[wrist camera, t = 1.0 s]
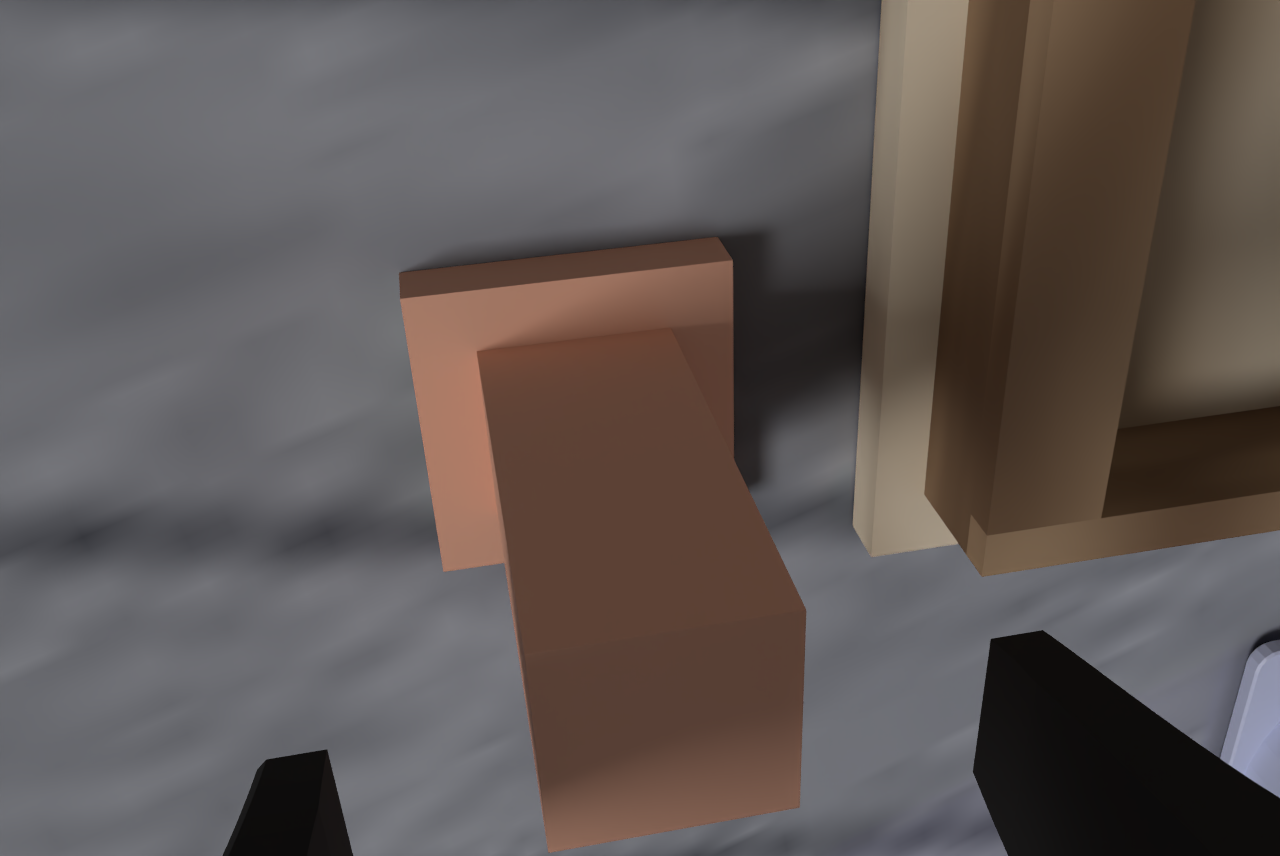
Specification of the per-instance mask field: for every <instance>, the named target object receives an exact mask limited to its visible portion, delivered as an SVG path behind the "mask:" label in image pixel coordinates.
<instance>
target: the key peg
mask: <svg viewBox="0 0 1280 856" xmlns="http://www.w3.org/2000/svg"><path fill="white" fill-rule="evenodd" d="M399 281H400V300H401V307H402V313H403V319H404V326H405V332H406V338H407V344H408V351H409V357H410V363H411V370H412V376H413V382H414V388H415V395H416V401H417V407H418V414H419V420H420V426H421V432H422V439H423V445H424V451H425V458H426V464H427V470H428V477H429V483H430V489H431V495H432V502H433V508H434V514H435V521H436V527H437V533H438V539H439V546H440V552H441V558H442V565H443V571H444V572H446V571H453V570H459V569H466V568H473V567H480V566H486V565H493V564H500V563H505V569H506V576H507V582H508V589H509V596H510V602H511V609H512V615H513V622H514V629H515V635H516V642H517V648H518V655H519V661H520V668H521V675H522V681H523V688H524V694H525V701H526V708H527V714H528V721H529V727H530V734H531V741H532V747H533V754H534V760H535V767H536V773H537V780H538V787H539V793H540V800H541V806H542V813H543V820H544V826H545V833H546V839H547V846H548V853H550V852H556V851H561V850H567V849H573V848H578V847H584V846H589V845H595V844H600V843H606V842H611V841H617V840H622V839H628V838H633V837H639V836H645V835H650V834H656V833H661V832H667V831H672V830H678V829H683V828H689V827H694V826H700V825H705V824H711V823H716V822H722V821H728V820H733V819H739V818H744V817H750V816H755V815H761V814H766V813H772V812H777V811H783V810H788V809H794V808H799V807H800V781H801V751H802V721H803V691H804V661H805V631H806V608H805V606H804V604H803V602H802V600H801V598H800V596H799V594H798V592H797V590H796V588H795V585H794V583H793V581H792V579H791V577H790V575H789V573H788V571H787V569H786V567H785V565H784V563H783V561H782V558H781V556H780V554H779V552H778V550H777V548H776V546H775V544H774V542H773V540H772V538H771V536H770V534H769V531H768V529H767V527H766V525H765V523H764V521H763V519H762V517H761V515H760V513H759V511H758V509H757V506H756V504H755V502H754V500H753V498H752V496H751V494H750V492H749V490H748V488H747V486H746V484H745V482H744V479H743V477H742V475H741V473H740V471H739V469H738V467H737V465H736V463H735V461H734V371H733V260H732V258H731V257H730V255H729V253H728V252H727V250H726V249H725V247H724V246H723V244H722V243H721V241H720V240H719V238H718V237H711V238H703V239H694V240H685V241H676V242H667V243H658V244H649V245H641V246H632V247H623V248H614V249H605V250H596V251H587V252H579V253H570V254H561V255H552V256H543V257H534V258H525V259H517V260H508V261H499V262H490V263H481V264H472V265H463V266H455V267H446V268H437V269H428V270H419V271H410V272H401V273H399Z"/></svg>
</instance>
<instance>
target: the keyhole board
mask: <svg viewBox="0 0 1280 856" xmlns="http://www.w3.org/2000/svg"><path fill="white" fill-rule="evenodd" d="M853 527H854V529H855V530H856V532H857V534H858V535H859V537H860V539H861V540H862V542H863V544H864V546H865V547H866V549H867V551H868V552H869V554H870V556H871V557H875V556H882V555H888V554H895V553H901V552H908V551H914V550H921V549H928V548H934V547H941V546H947V545H954V544H959V545H960V546H961V548H962V549H963V551H964V552H965V553H966V555H967V556H968V558H969V559H970V561H971V562H972V563H973V565H974V566H975V568H976V569H977V571H978V572H979V573H980V575H981V576H982V577H984V576H990V575H996V574H1003V573H1009V572H1016V571H1022V570H1028V569H1035V568H1041V567H1047V566H1054V565H1060V564H1067V563H1073V562H1079V561H1086V560H1092V559H1099V558H1105V557H1111V556H1118V555H1124V554H1130V553H1137V552H1143V551H1150V550H1156V549H1162V548H1169V547H1175V546H1182V545H1188V544H1194V543H1201V542H1207V541H1213V540H1220V539H1226V538H1233V537H1239V536H1245V535H1252V534H1258V533H1265V532H1271V531H1277V530H1280V0H882V5H881V23H880V41H879V59H878V77H877V95H876V114H875V132H874V150H873V168H872V186H871V204H870V222H869V240H868V259H867V277H866V295H865V313H864V331H863V349H862V367H861V385H860V403H859V422H858V440H857V458H856V476H855V494H854V512H853Z"/></svg>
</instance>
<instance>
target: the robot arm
mask: <svg viewBox="0 0 1280 856" xmlns="http://www.w3.org/2000/svg"><path fill="white" fill-rule="evenodd" d="M973 773H974V776H975V778H976V780H977V783H978V785H979V788H980V790H981V793H982V795H983V798H984V800H985V803H986V805H987V808H988V810H989V812H990V815H991V817H992V820H993V822H994V824H995V827H996V829H997V831H998V833H999V836H1000V838H1001V840H1002V842H1003V845H1004V847H1005V849H1006V852H1007V854H1008V856H1280V640H1275V641H1270V642H1267V643H1264V644H1262V645H1260V646H1259V647H1257V648H1256V649H1255V650H1254V651H1253V652H1252V653H1251V654H1250V656H1249V658H1248V660H1247V663H1246V667H1245V670H1244V674H1243V677H1242V681H1241V685H1240V688H1239V692H1238V695H1237V699H1236V703H1235V706H1234V710H1233V713H1232V717H1231V721H1230V724H1229V728H1228V731H1227V735H1226V739H1225V742H1224V746H1223V749H1222V753H1221V757H1220V758H1218V757H1217V756H1215V755H1214V754H1212V753H1211V752H1210V751H1208V750H1207V749H1205V748H1204V747H1202V746H1201V745H1199V744H1198V743H1197V742H1195V741H1194V740H1192V739H1191V738H1190V737H1188V736H1187V735H1185V734H1184V733H1182V732H1181V731H1180V730H1178V729H1177V728H1175V727H1174V726H1173V725H1171V724H1170V723H1168V722H1167V721H1166V720H1164V719H1163V718H1162V717H1160V716H1159V715H1157V714H1156V713H1155V712H1153V711H1152V710H1150V709H1149V708H1148V707H1146V706H1145V705H1144V704H1142V703H1141V702H1140V701H1138V700H1137V699H1136V698H1134V697H1133V696H1131V695H1130V694H1129V693H1127V692H1126V691H1125V690H1123V689H1122V688H1121V687H1119V686H1118V685H1117V684H1115V683H1114V682H1113V681H1111V680H1110V679H1109V678H1107V677H1106V676H1104V675H1103V674H1102V673H1100V672H1099V671H1098V670H1096V669H1095V668H1094V667H1092V666H1091V665H1090V664H1088V663H1087V662H1086V661H1084V660H1083V659H1082V658H1080V657H1079V656H1078V655H1076V654H1075V653H1074V652H1072V651H1071V650H1070V649H1068V648H1067V647H1065V646H1064V645H1063V644H1061V643H1060V642H1059V641H1057V640H1056V639H1054V638H1053V637H1052V636H1050V635H1049V634H1047V633H1046V632H1044V631H1043V630H1042V631H1036V632H1030V633H1024V634H1018V635H1012V636H1006V637H1000V638H994V639H991V642H990V650H989V657H988V664H987V672H986V679H985V687H984V694H983V701H982V709H981V716H980V723H979V731H978V738H977V746H976V753H975V760H974V768H973ZM223 856H353V853H352V849H351V845H350V841H349V837H348V833H347V829H346V825H345V821H344V817H343V813H342V808H341V804H340V800H339V796H338V792H337V788H336V784H335V780H334V776H333V772H332V767H331V763H330V759H329V755H328V751H327V750H321V751H315V752H309V753H303V754H297V755H291V756H285V757H279V758H273V759H267V760H266V761H265V762H264V763H263V764H262V765H261V766H260V767H259V768H258V769H257V772H256V774H255V777H254V780H253V783H252V786H251V788H250V791H249V794H248V796H247V799H246V801H245V804H244V806H243V809H242V811H241V814H240V816H239V819H238V821H237V824H236V826H235V829H234V831H233V833H232V836H231V838H230V840H229V843H228V845H227V847H226V849H225V851H224V854H223Z"/></svg>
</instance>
